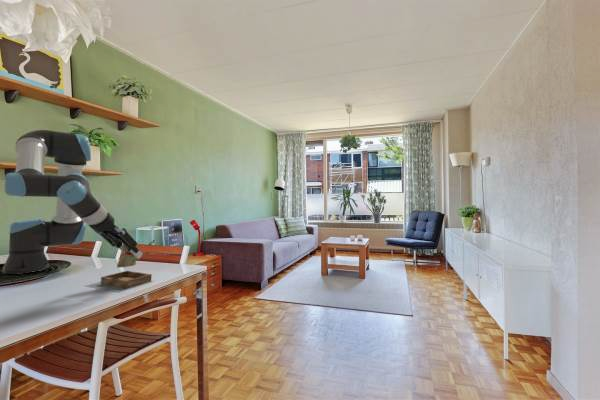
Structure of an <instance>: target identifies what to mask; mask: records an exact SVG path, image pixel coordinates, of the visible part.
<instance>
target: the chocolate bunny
mask: <svg viewBox="0 0 600 400" xmlns="http://www.w3.org/2000/svg"><path fill="white" fill-rule="evenodd" d="M123 248H124V249H125V250H126V254H124V255H122V256H121V257H120V258H119V260H118V261H117V265H116V266H117V267H116V268H126V267H133V266H135V265H137V260H138V259H137V258H136V257H135V256H134V255H133V254H132V253H131V252H130V251H128V249H129V248H127V247H126V246H125V245H123Z"/></svg>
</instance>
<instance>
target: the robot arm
mask: <svg viewBox="0 0 600 400" xmlns="http://www.w3.org/2000/svg"><path fill="white" fill-rule="evenodd" d="M14 146H15V148H14V149H15V152H16V153H17V158H16V165H15V171H14V172H8V173H6V174H5V177H4V178H5V179H4V193H5V194H6V195H7V196H10V197H11V196H12V197H38V198H39V197H44V198H45V197H48V198H56V206H55V207H56V208H55V215H53V216H52V217H51V221H47V220H46V218H31V219H30V218H29V219H24V220H17V221H13V222H12V223H11V224H10V226H9V231H8V234H9V243H8V244H9V245H8V248H9V249H8V256H7V258H6V260H5V262H4V265H3V266H2V274H3V275H6V274H17V273H27V272H32V271H37V270H41V269H44V268H47V267H49V265H50V264H49V261H48V259H47V257H46V254H45V247H57V246H59V247H60V246H72V245H73V246H74V245H80V244H81V243H82V242H83V241H84V239H85V236H86V235H85V234H86V227H87V225H88V226H89V228H91V230H92V231H94V232H96V233H97V234H98V235H100V237H102V238H103V240H105V242H107V243H108V244H109V245H111V247H112V248H113V247H116V248H117V249H119V250H120V251H121V253H123V254H124V255H125V254H126V250H125V249H124V248H123V245H125V246H126V247H127V248H129V249H128V251H130V252H131V253H132V254H133V255H134V256H135V257H136V258H137V260H140V259H141V257H142V256H143V255H144V254H143V252H142V251H141V249H139V248H138V247H137V245H138V242H137V241H136V240H135V239H134V237H132V236H131V234H129V233H128V231H127V229H126V228H124V227H123V228H121V229H120V228H119V227H118V225H116V224H115V220H116V219H115V218H114V217H113V215H112V214H110V213H109V211H108V210H107V208H105V207H104V206H103V205H102V203H100V202H99V201H98V200H97V199H96V198H95V197H94V196H93V194H92V193H91V188H90V182H89V180H88V179H87V177H86V176H85V175H83V173H82V172H83V168H84V167H86V166H87V162H90V161H91V159H92V158H91V157H92V154H91V153H92V152H91V143H90V139H89V138H88V137H87V136H86V135H83V134H77V133H72V132H62V131H55V130H49V129H36V130H32V131H28V132H26V133H25V134H22V135H21V136H19V138H18V139H17V140H16V142H15V145H14ZM45 157H46V158H53V161H54V163H55V164H56V165H57V175H50V174H45ZM49 268H50V267H49Z"/></svg>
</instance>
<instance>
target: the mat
mask: <svg viewBox="0 0 600 400" xmlns="http://www.w3.org/2000/svg"><path fill="white" fill-rule="evenodd" d="M150 283H154V282H153V280H151V281H150V282H147V283H143V284H140V285H137V286H134V287H131V288H128V289H125V288H119V287H113V286H108V285H102V284H101V281H97V282H94V283H91V284H87V285H85V287H88V288H91V289H92V288H94V289H97V290H103V291H108V292H113V293H118V294H119V293H122V292H124V291H125V292H126V291H128V290H131V289H134V288H138V287H141V286H144V285H147V284H150Z"/></svg>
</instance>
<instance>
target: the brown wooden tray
mask: <svg viewBox="0 0 600 400" xmlns="http://www.w3.org/2000/svg"><path fill="white" fill-rule="evenodd" d="M150 281H152V274H151V273H145V272H140V271H139V272H137V271H131V270H124V271H120V272H116V273H113V274H112V273H111V274H108V275H105V276H101V277H100V282H101V284H102V285H108V286H113V287H119V288H125V289H128V288H131V287H134V286H137V285H140V284H143V283H147V282H150ZM150 283H151V282H150ZM147 284H148V283H147Z"/></svg>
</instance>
